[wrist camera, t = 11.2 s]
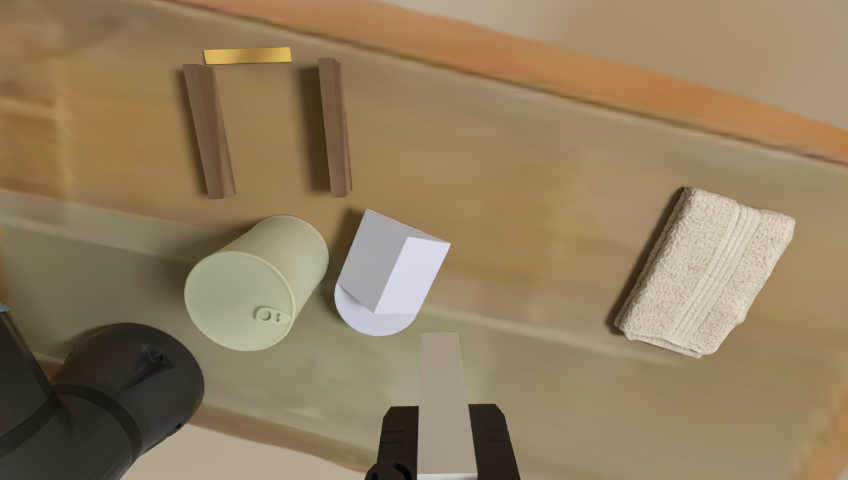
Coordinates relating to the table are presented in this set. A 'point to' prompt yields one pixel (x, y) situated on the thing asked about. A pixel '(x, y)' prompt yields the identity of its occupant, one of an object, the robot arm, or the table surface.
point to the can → (257, 283)
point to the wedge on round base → (387, 275)
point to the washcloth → (703, 272)
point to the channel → (212, 125)
